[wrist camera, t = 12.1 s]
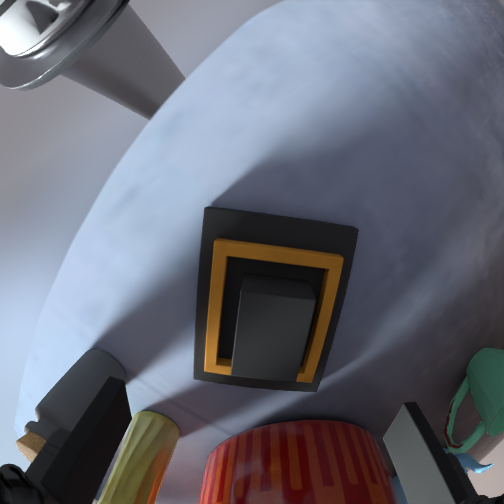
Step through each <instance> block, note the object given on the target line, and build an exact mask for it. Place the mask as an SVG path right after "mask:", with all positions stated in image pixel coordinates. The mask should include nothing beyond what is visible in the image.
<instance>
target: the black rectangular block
mask: <svg viewBox="0 0 504 504" xmlns="http://www.w3.org/2000/svg"><path fill="white" fill-rule="evenodd" d="M315 304H316V298H315V296H314V294H313V292H312V290H311V287H310V285H309V283H308V281H307V280H300V279H292V278H284V277H276V276H268V275H260V274H252V273H244V275H243V281H242V286H241V291H240V299H239V307H238V316H237V324H236V332H235V340H234V349H233V357H232V366H231V375H232V376H240V377H248V378H257V379H267V380H278V381H291V382H296V380H297V376H298V373H299V369H300V365H301V362H302V358H303V354H304V350H305V346H306V342H307V338H308V334H309V330H310V326H311V322H312V317H313V313H314V309H315Z"/></svg>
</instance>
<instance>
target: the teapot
mask: <svg viewBox="0 0 504 504" xmlns="http://www.w3.org/2000/svg"><path fill="white" fill-rule="evenodd" d="M443 449H444V451H445V453H448V452H449V450H448V449H445V448H443ZM452 454H454V455H455V456H456V457H457V458H458V460H459V462H460V463H461V465H462V466H461V467H463V469H464V470H465V473H466V474H467V470H466V466H467V467H469V468H470V469H471V470H473V471H474V472H476V473H481V472H483V471H485V470H487V469H488V468H489V467H491V466H492V465H493V464H494V463H493V464H489V465H481V464H479V463H478V462H477V461H476V460H475V459H474V458H473V457H472V456H470V455H469V454H466V453H452ZM467 476H468V474H467ZM392 481H393V484H394V487H395V490H396V493H397V495H398V498H399V501H400V504H408V501H407V499H406V496H405V493H404V491H403V488H402V485H401V483H400V480H399V477H398V475H397V476H395V477H394V478H393V479H392Z"/></svg>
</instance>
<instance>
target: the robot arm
mask: <svg viewBox="0 0 504 504" xmlns="http://www.w3.org/2000/svg"><path fill="white" fill-rule="evenodd" d="M92 1H93V0H0V46H1V47H2V48H3V49H4V51H5V52H6V53H7V54H8V55H11V56H13V57H16V58H19V59H26V58H29V57H32V56H34V55H36V54H38V53H40V52H41V51H43V50H44V49H46V48H47V47H49V46H50V45H51V44H53V43H54V42H55V41H56V40H57V39H59V38H60V37H61V36H62V35H63V34H64V33H65V32H66V31H67V30H68V29H69V28H70V27H71V26H72V25H73V24H74V23H75V22H76V21H77V20H78V19H79V18H80V17H81V15H82V14H83V13H84V12H85V11H86V9H87V8H88V7H89V5H90V4H91V3H92ZM131 420H132V416H131V412H130V407H129V403H128V398H127V392H126V387H125V381H124V380H122V379H118V378H115V377H112V376H109V378H108V379H107V380H106V382H105V383H104V385H103V386H102V388H101V389H100V390H99V392H98V393H97V395H96V396H95V398H94V399H93V401H92V402H91V403H90V405H89V406H88V408H87V409H86V411H85V412H84V414H83V415H82V417H81V418H80V420H79V421H78V423H77V424H76V426H75V427H74V429H73V430H72V432H71V431H69V430H66V429H64V428H62V427H61V428H59V429H57V430H56V431H54V432H53V433H52V434H51V435H50V437H49V438H48V439H47V441H46V443H45V444H44V445H43V447H42V449H41V450H40V451H39V453H38V454H37V456H36V457H35V458H34V460H33V461H32V463H31V465H30V466H29V468H28V469H27V471H26V472H25V473H24V472H23V471H22V470H21V468H20V467H18V466H16V465H14V464H5V465H3V466H1V467H0V504H92V503H93V501H94V499H95V496H96V494H97V492H98V490H99V488H100V485H101V483H102V481H103V479H104V477H105V474H106V472H107V470H108V468H109V466H110V464H111V461H112V459H113V457H114V455H115V453H116V451H117V449H118V447H119V445H120V442H121V440H122V438H123V436H124V434H125V432H126V430H127V428H128V426H129V424H130V422H131ZM383 440H384V442H385V445H386V447H387V450H388V452H389V455H390V457H391V460H392V462H393V465H394V467H395V470H396V472H397V475H398V477H399V480H400V483H401V485H402V488H403V491H404V493H405V496H406V499H407V501H408V504H504V494H502V495H501V496H498V497H493V498H488V497H487V496H485V495H478V494H477V493H476V491H475V489H474V487H473V485H472V483H471V481H470V480H469V478H468V476H467V474H466V473H465V470H464V469H463V467H461V466H462V465H461V463H460V462H459V460H458V458H457V457H456V456H455V455H454V454H452V453H451V452H448V453H445V451H444V449H443V447H442V445H441V444H440V442H439V440H438V438H437V437H436V435H435V433H434V432H433V430H432V428H431V426H430V425H429V423H428V421H427V420H426V418H425V416H424V415H423V413H422V411H421V410H420V408H419V406H418V405H417V403H416V402H408V403H403V405H402V407H401V409H400V410H399V412H398V414H397V416H396V417H395V419H394V421H393V422H392V424H391V426H390V427H389V429H388V430H387V432H386V434H385V435H384V437H383Z"/></svg>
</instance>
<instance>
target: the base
mask: <svg viewBox="0 0 504 504" xmlns="http://www.w3.org/2000/svg"><path fill="white" fill-rule="evenodd" d="M358 231H359V229H357V228H355V227H352V226H346V225H340V224H334V223H327V222H321V221H314V220H308V219H301V218H294V217H287V216H280V215H273V214H266V213H258V212H251V211H243V210H235V209H226V208H218V207H209V206H208V207H205V208H204V217H203V227H202V238H201V249H200V261H199V273H198V287H197V303H196V321H195V342H194V372H193V379H196V380H201V381H207V382H214V383H220V384H227V385H234V386H242V387H251V388H260V389H271V390H284V391H301V392H317V389H318V387H319V384H320V381H321V378H322V375H323V371H324V368H325V365H326V362H327V359H328V356H329V352H330V349H331V345H332V342H333V339H334V335H335V332H336V328H337V324H338V321H339V317H340V313H341V309H342V305H343V301H344V297H345V293H346V289H347V284H348V280H349V276H350V271H351V266H352V262H353V257H354V252H355V247H356V241H357V236H358ZM244 273H252V274H260V275H268V276H276V277H284V278H292V279H300V280H307V281H308V283H309V285H310V287H311V290H312V292H313V294H314V296H315V298H316V304H315V309H314V313H313V317H312V322H311V326H310V330H309V334H308V338H307V342H306V346H305V350H304V354H303V358H302V362H301V365H300V369H299V373H298V376H297V380H296V382H291V381H278V380H267V379H257V378H248V377H240V376H232V375H231V366H232V357H233V349H234V340H235V332H236V324H237V316H238V307H239V299H240V291H241V286H242V281H243V275H244Z"/></svg>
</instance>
